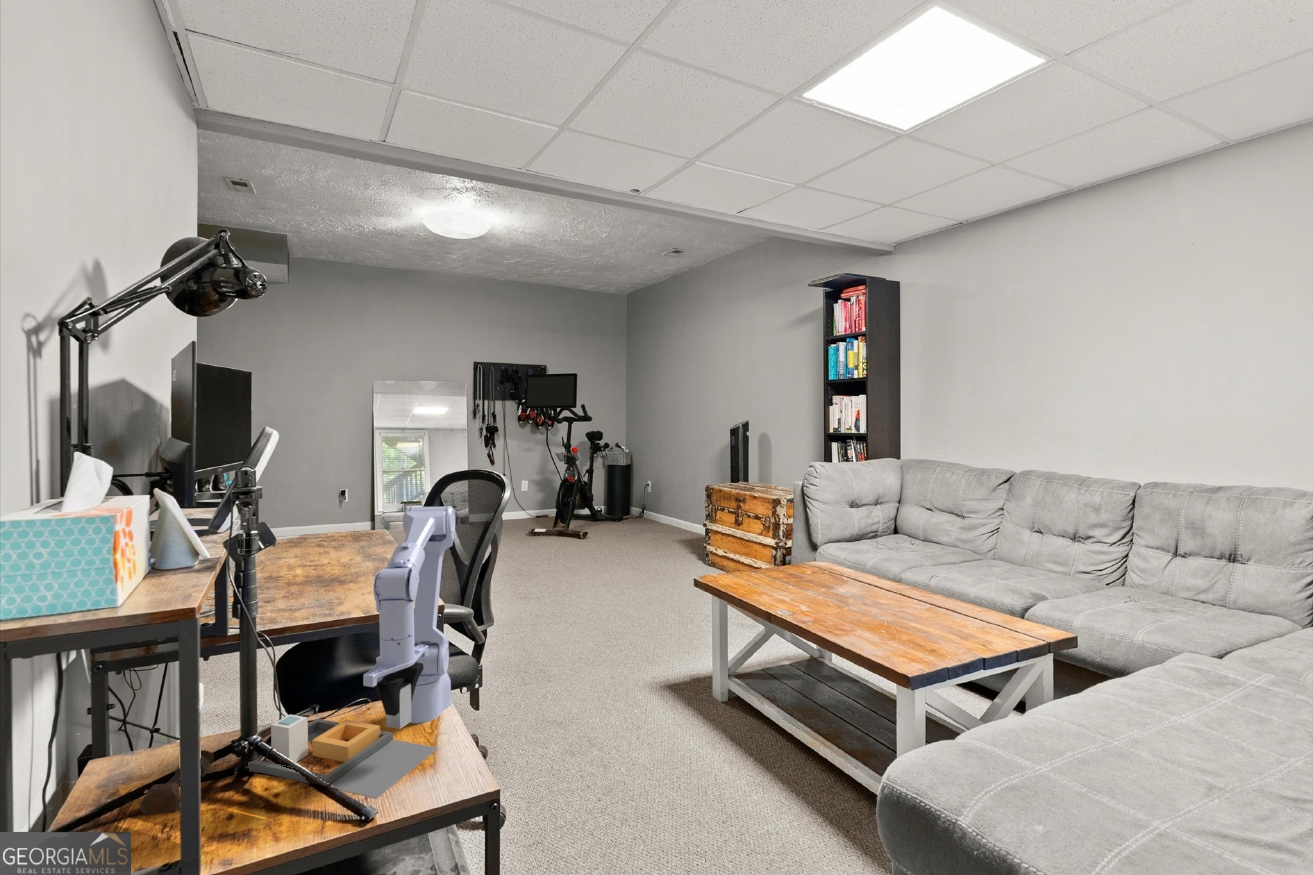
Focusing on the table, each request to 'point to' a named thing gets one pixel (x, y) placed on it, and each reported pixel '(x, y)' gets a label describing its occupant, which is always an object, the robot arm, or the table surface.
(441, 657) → the robot arm
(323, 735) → the grey rimmed tray
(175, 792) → the bolt
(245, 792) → the table surface
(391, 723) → the grey rectangular block
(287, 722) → the block
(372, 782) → the lid
